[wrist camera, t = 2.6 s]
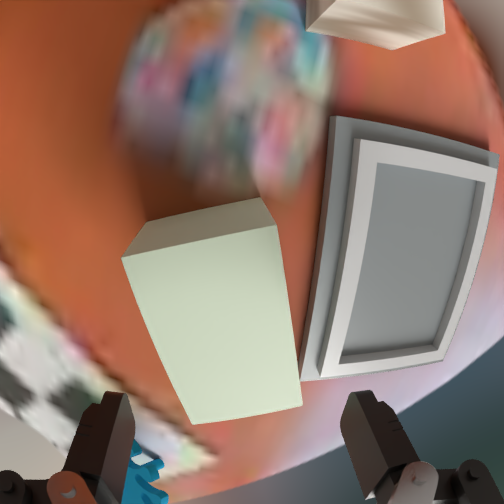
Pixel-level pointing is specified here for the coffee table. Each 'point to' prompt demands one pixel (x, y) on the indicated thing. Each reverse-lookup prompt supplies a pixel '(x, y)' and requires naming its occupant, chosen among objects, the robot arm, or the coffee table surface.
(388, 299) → the plate
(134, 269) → the brick
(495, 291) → the coffee table surface
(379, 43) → the cube
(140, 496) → the gear
